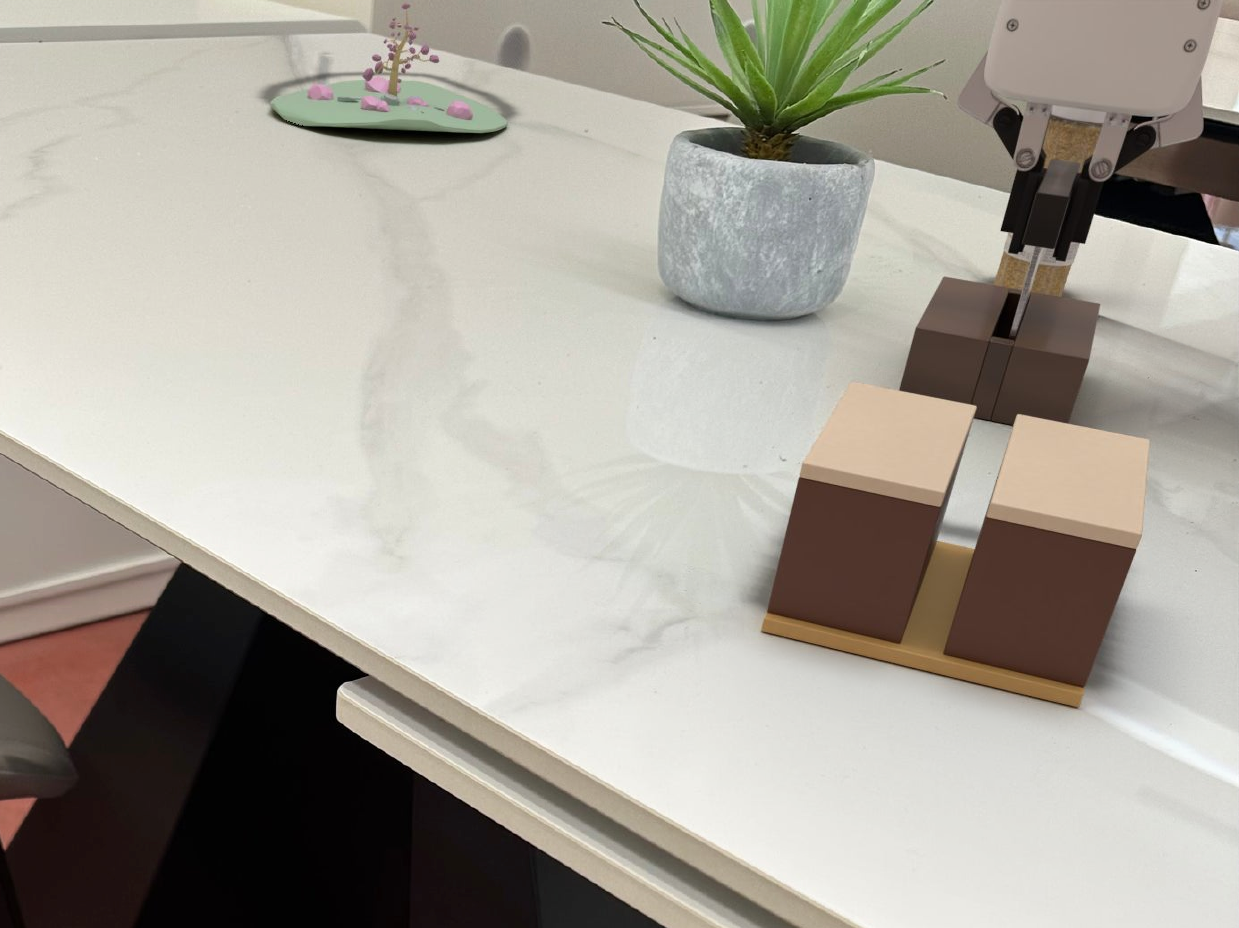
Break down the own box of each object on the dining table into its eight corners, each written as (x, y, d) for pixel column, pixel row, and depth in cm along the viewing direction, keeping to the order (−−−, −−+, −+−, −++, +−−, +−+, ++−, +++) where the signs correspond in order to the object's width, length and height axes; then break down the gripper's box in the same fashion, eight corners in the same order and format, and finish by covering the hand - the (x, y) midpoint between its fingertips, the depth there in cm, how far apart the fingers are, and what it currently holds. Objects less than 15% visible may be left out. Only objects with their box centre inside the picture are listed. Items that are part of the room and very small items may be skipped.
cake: (815, 527, 73) (853, 377, 69) (1094, 588, 69) (1150, 435, 66) (760, 631, 64) (799, 466, 60) (1078, 708, 60) (1142, 539, 56)
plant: (270, 78, 152) (274, -33, 146) (489, 94, 153) (500, -15, 148) (269, 134, 132) (273, 8, 126) (521, 152, 133) (535, 28, 128)
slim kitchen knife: (995, 353, 95) (1050, 158, 89) (1023, 358, 94) (1081, 163, 88) (977, 401, 87) (1036, 192, 81) (1007, 406, 87) (1069, 197, 81)
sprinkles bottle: (972, 300, 106) (1037, 72, 98) (1033, 300, 107) (1102, 74, 99) (1010, 322, 103) (1081, 87, 95) (1072, 322, 104) (1148, 89, 96)
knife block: (924, 345, 97) (943, 276, 95) (1077, 374, 95) (1100, 303, 92) (895, 402, 88) (915, 327, 86) (1064, 435, 86) (1089, 359, 83)
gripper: (1334, -147, 77) (1194, 261, 87) (992, -175, 81) (899, 216, 92) (1345, -142, 71) (1194, 293, 82) (976, -173, 75) (879, 244, 86)
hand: (1038, 250), depth 87 cm, fingers closed on slim kitchen knife, 1 cm apart
